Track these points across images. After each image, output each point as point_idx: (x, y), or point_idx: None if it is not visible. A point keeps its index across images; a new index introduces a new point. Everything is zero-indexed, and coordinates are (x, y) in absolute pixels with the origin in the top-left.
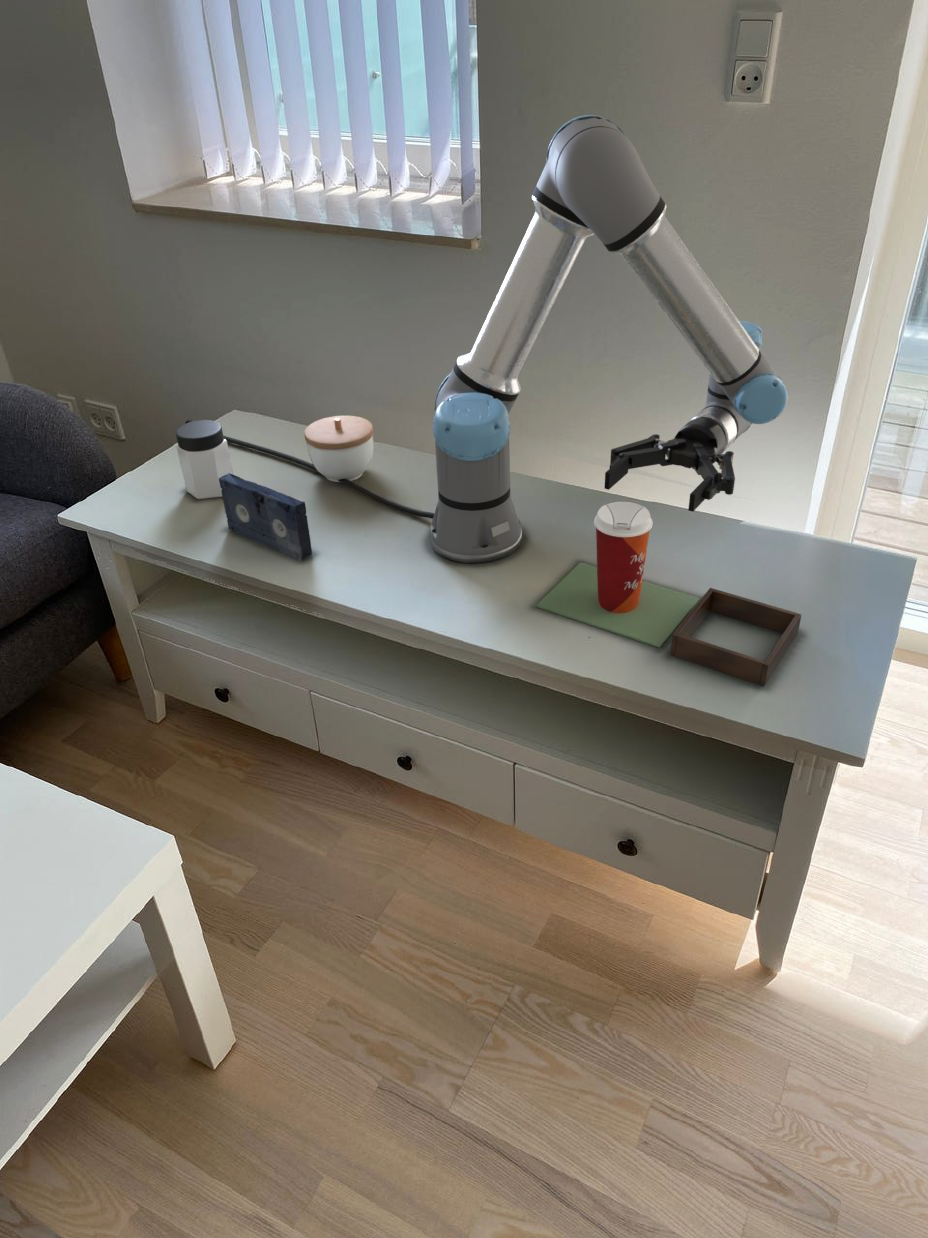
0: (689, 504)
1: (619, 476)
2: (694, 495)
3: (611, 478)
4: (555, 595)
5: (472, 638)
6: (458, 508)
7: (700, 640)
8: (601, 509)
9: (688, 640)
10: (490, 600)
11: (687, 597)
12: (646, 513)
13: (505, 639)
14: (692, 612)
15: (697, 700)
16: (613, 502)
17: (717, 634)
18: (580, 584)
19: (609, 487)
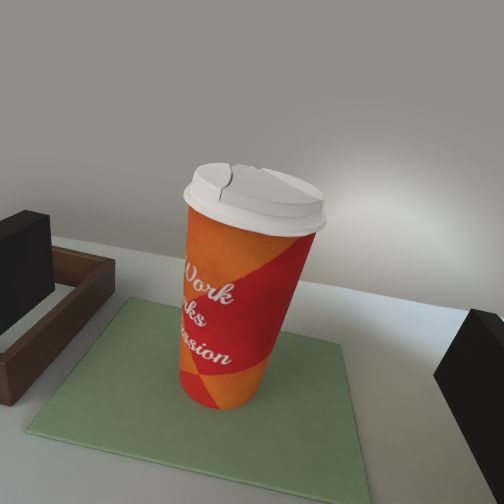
0: (50, 263)
1: (501, 465)
2: (27, 212)
3: (463, 351)
4: (331, 370)
5: (357, 292)
6: None
7: (70, 253)
8: (316, 191)
9: (90, 254)
10: (404, 349)
11: (61, 424)
12: (206, 177)
13: (326, 294)
14: (73, 295)
15: (84, 245)
16: (309, 202)
17: (18, 335)
18: (313, 412)
19: (438, 370)
